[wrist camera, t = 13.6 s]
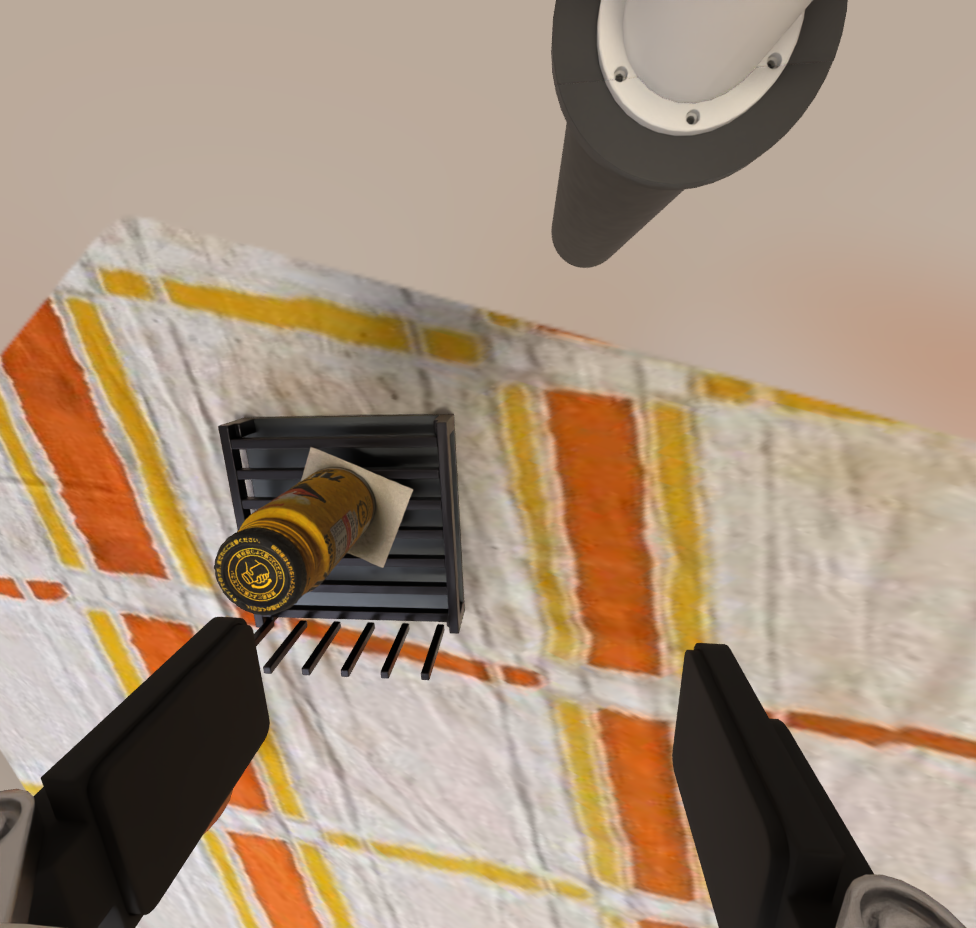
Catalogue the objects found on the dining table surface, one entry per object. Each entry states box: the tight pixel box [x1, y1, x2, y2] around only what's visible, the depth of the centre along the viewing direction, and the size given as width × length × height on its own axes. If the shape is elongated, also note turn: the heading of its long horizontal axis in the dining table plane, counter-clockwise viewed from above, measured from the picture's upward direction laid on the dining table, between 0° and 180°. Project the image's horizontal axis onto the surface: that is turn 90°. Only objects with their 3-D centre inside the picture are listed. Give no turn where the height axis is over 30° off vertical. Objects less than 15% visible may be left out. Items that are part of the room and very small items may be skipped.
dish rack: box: [218, 414, 465, 680], centre depth 38 cm, size 18×18×9 cm
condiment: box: [214, 447, 413, 615], centre depth 33 cm, size 7×8×12 cm
